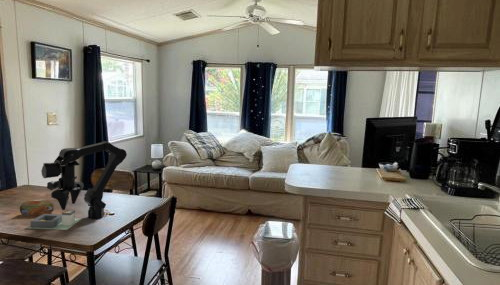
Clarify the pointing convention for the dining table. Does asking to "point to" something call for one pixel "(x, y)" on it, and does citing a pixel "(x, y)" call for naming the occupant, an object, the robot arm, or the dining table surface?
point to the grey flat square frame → (46, 221)
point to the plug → (68, 217)
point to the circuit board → (60, 226)
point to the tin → (37, 207)
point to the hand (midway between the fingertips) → (68, 206)
